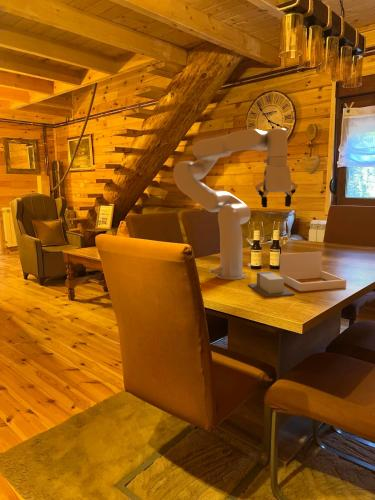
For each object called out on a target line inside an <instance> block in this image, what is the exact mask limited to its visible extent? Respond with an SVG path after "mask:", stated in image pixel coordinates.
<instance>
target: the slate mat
mask: <svg viewBox="0 0 375 500" xmlns="http://www.w3.org/2000/svg"><path fill="white" fill-rule="evenodd" d="M247 286H248V287H249V288H251V289H252V290H253V291H255V292H257V293H258V294H259V295H261V296H263V297H264V298H276V297H277V298H278V297H279V298H280V297H288V296H289V297H290V296H295V293H294V292H292V291H291V290H289V289H287V288H286V287H284V292H281V293H268V292H267V291H265V290H264V289H262V288H261V287H259V286H257V282H256V283H249V284H247Z"/></svg>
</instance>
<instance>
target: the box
mask: <svg viewBox="0 0 375 500" xmlns="http://www.w3.org/2000/svg"><path fill="white" fill-rule="evenodd" d="M256 283H257V286H259V287H261V288H262V289H264V290H265V291H267V292H268V293H281V292H284V288H285V283H284V278H282V277H280V275H277V274H275V273H274V272H272V271H260V272H258V271H257V273H256Z"/></svg>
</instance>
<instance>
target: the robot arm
mask: <svg viewBox="0 0 375 500" xmlns="http://www.w3.org/2000/svg"><path fill="white" fill-rule="evenodd" d="M247 150H248V151H249V150H253V151H260V152H262V151H266V158H265V159H263V163H264V164H266V166H265V167H264V170H263V179H262V181H261V182H259V183H257V184H256V185H255V186H254V188H255V190H256V192H257V194H258V195H259V197H260V198H261V201H260V202H261V206H262V208H268V197H267V195H268V194H269V193H278V192H279V193H281V192H282V193H284V194H285V197H284V200H285V201H284V205H285V207H291V205H292V196H293V195H294V194H295V193H296V190H297V189H298V186H299V185H298V184H297V183H295V182H293V181H292V177H291V176H292V175H291V169H290V165H288V130H287V129H285V128H282V127H281V128H279V127H278V128H271V129H269V130H268V131H264V130H260V129H256V128H248V129H242V130H237V131H233V132H231V133H228V134H225V135H222V136H217V137H210V138H205V139H200V140H198V141H196V142H195V143H194V144H193V146H192V154H193V156H194V157H195V158H196V160H195V161H193V160H184V161H183V160H181V161H180V162H177V164H175V166H174V167H173V180H174V183H175V185H176V186H177V188H178V189H179V190H180V191H181V192H182V193H183V194H185V195H186V197H188V198H190V199H192V200H193V201H194V202H196V203H197V204H198V205H199V206H201V207H202V208H203V209H204V210H206V211H207V212H209V213H218V214H217V221H218V222H217V223H218V227H219V244H220V245H219V247H220V248H219V249H220V250H219V251H220V253H219V256H220V265H218V267H216V268H209V273H210V274H215V275H216V278H218V279H220V280H224V281H225V280H226V281H227V280H228V281H236V280H237V281H238V280H243V279H245V278H246V277H247V274H246V273H245V272H243V231H242V230H243V229H242V227H241V225H244V224H246V223H248V221H249V220H250V219H251V215H252V213H251V209H250V207H249V206H248V204H246V203H245V202H243V201H242V200H240V199H239V198H237V197H236V196H235V195H234V194H231V193H230V192H228V191H226V190H222V189H220V190H219V189H218V190H217V189H212V188H210V187H209V186H208V185H206V184H205V183H204V182H201V181H200V180H202V179H204V178H205V177H206V176H207V174H208V173H209V172H210V171H211V169H212V168H213V166H214V165H215V164H216V163H217V162H218V160H219V158H226V157H230V156H231V155H232V153H235V152H239V151H247ZM261 188H262V190H261Z"/></svg>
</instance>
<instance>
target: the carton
mask: <svg viewBox="0 0 375 500" xmlns="http://www.w3.org/2000/svg"><path fill="white" fill-rule="evenodd" d="M322 264H323V251H310V252H294V253H292V252H291V253H279V276H280V277H282V278H284V285H285V284H286V285H287V286H289V287H291V288H293V289H295V290H297V291H299V292H309V291H311V292H312V291H319V290H332V289H333V290H334V289H346V288H347V279H345V278H342V277H339V276H337V275H335V274H332V273H329V272H326V271H323V270H322V269H323V268H322V266H323V265H322ZM306 279H322V280H320V281H310V282H309V281H308V282H300V281H298V280H306Z"/></svg>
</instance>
